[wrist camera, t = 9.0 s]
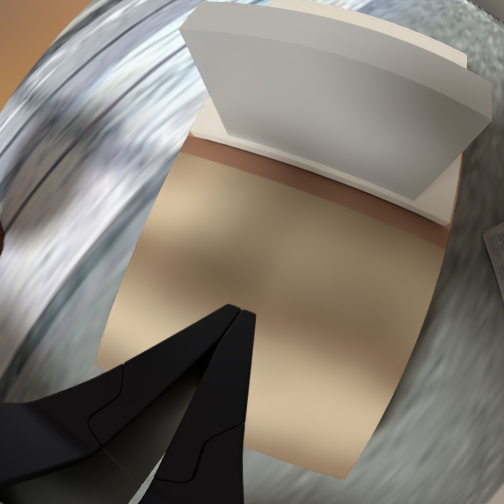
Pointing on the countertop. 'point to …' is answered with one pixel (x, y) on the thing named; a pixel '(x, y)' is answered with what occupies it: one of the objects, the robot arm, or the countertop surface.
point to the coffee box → (496, 252)
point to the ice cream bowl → (1, 237)
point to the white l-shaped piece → (339, 97)
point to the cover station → (285, 293)
